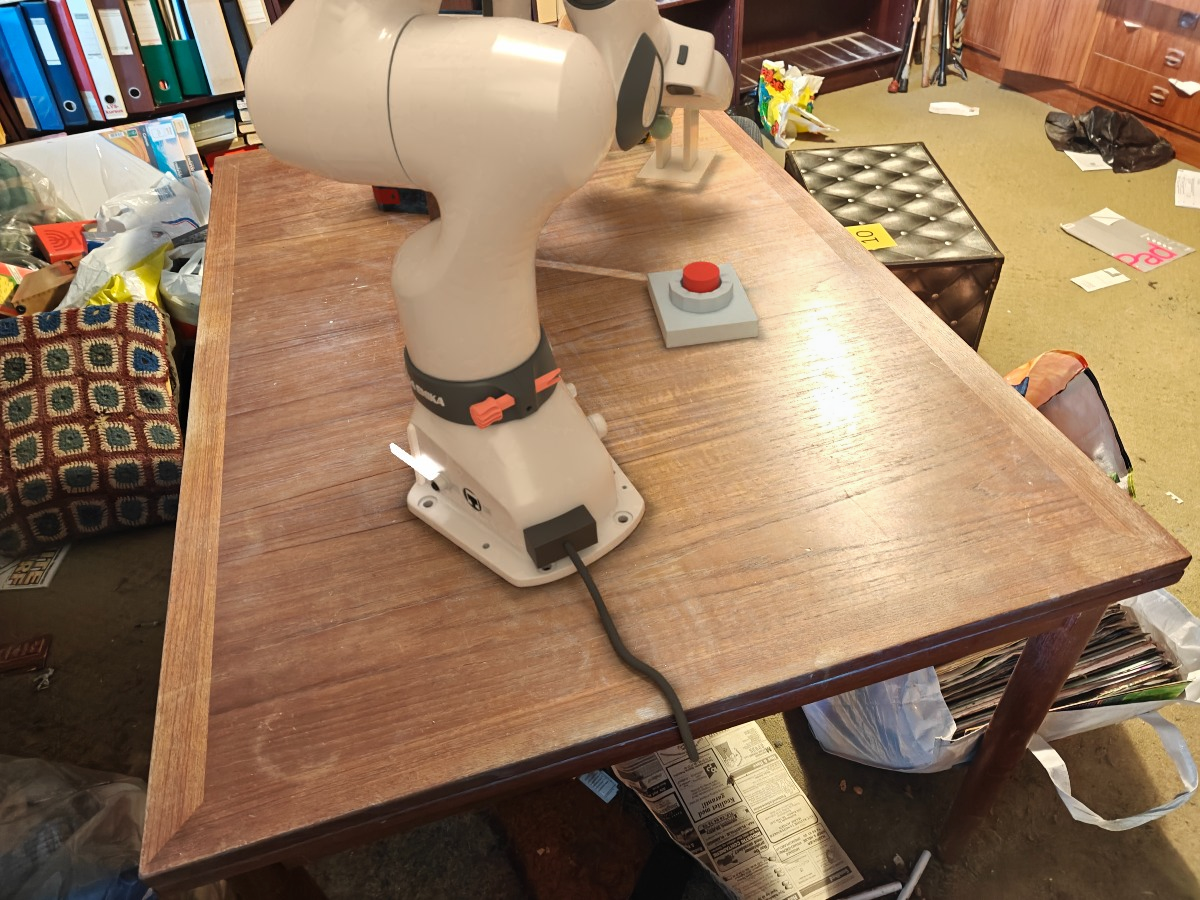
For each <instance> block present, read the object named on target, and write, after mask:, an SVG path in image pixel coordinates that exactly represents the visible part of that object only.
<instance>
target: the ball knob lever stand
mask: <svg viewBox="0 0 1200 900" xmlns="http://www.w3.org/2000/svg"><path fill="white" fill-rule="evenodd" d="M699 123H700V110H698V109H685V108H683V138H682V139H683V144H682V145H683V146H675V145H674V146H673V145H672V134H671V135H670V136H669V137H668V138H667V139H666V140H662V141H658V140H655V149H654V151H652V154H651V155H650V156H649V157H648V159H647V161H646V162H645V163H644V165H643V166H642V167H641V169H640V170H639V172H638V173H637V175H636V176H635V179H644V180H655V181H664V182H673V183H681V184H693V185H698V184H699V183H700V181H701V179H702V178H703V176H704V174H705V172H706V171H707V169H708V168H709V166H710V164H711V163H712V161H713V159H714V158H715V156H716V154H717V152H718V150H717V149H708V148H699V127H700V124H699Z"/></svg>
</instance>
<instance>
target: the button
mask: <svg viewBox="0 0 1200 900" xmlns="http://www.w3.org/2000/svg"><path fill="white" fill-rule="evenodd" d="M716 265H717V264H715V263H712V262H709V261H702V260H701V261H693V262H690V263H688V264H686V265H684V267H683V268H684V269H683V268H682V269H683V287H684V289H686V290H688V291H689V292H694V293H707V292H712V291H714V290H716V289H717V288H718V287H719V277H720V270H719V268H718V267H717V266H716Z"/></svg>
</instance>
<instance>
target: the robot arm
mask: <svg viewBox="0 0 1200 900" xmlns="http://www.w3.org/2000/svg"><path fill="white" fill-rule="evenodd" d="M442 2H443V0H294V1H293V2H292V3H291V4H290V5H289V7H288V8H287V9H286V11H284V12H283V14H282V15H281V16H280V17H279V18H278V19H277V20H276V21H274V22H273V23H272V24H271V25H270V26H269V27H267V28H266V29H265V30H264V31H263V32H262V33H261V34H260V35H259V37H258V38H257V40H256V41H255V43H254V45H253V47H252V50H251V52H250V54H249V57H248V61H247V65H246V69H245V75H244V97H245V98H244V99H245V104H246V109H247V113H248V116H249V119H250V121H251V125H252V127H253V129H254V131H255V133H256V136H257V137H258V139H259V140H260V142H261V143H262V146H263V147H264V148H265V150H266V151H267V152H268V153H269V154H270V155H271V156H272V157H273V158H274V159H275V160H276V161H278V162H279V163H280V164H282V165H285V166H286V167H290V168H293V169H296V170H299V171H302V172H304V173H307V174H311V175H314V176H316V177H321V178H323V179H328V180H330V181H331V180H332V181H334V182H338V183H341V184H347V185H348V184H349V185H359V186H360V185H363V186H372V185H373V186H386V187H398V188H411V189H422V190H424V191H429V192H432V193H433V195H434V196H435V198H436V199H437V202H438V205H439V208H440V214H441V217H439V218H437V219H435V220H433V221H431V222H430V221H429V222H427V223H425V224H423V225H421V227H419V228H417V229H416V230H414V231H413V232H412V233H411V234H410V235H408V236H407V237H406V238H405V239H404V240H403V241H402V243H400V245H399V247H398V248H397V250H396V252H395V254H394V256H393V259H392V263H391V267H390V272H389V273H390V274H389V285H390V289H391V293H392V297H393V301H394V305H395V308H396V312H397V317H398V320H399V323H400V328H401V332H402V335H403V339H404V343H405V344H404V348H403V358H404V368H405V374H406V377H407V380H408V382H409V384H410V388H411V391H412V393H413V396H414V397H415V399H414V404H413V408H412V411H411V415H410V417H409V420H408V423H407V427H406V436H407V440H408V445H409V450H410V454H409V453H407V452H406V451H404V450H403V449H401V448H400V447H399V446H398V445H396V444H394V443H393V442H392V443H391V444H389V446H390V450H391V453H393V454H394V455H395V456H397V457H398V458H399V459H400V460H401V461H402V460H403V461H404V462H405V463H406V464H407V465H409V466H411V468H413V471H414V476H415V482H414V483H413V485H412V486H411V488H410V489H409V491H408V493H407V496H406V504H407V509H408V511H409V512H410V513H411V514H413V515H414V516H416V517H417V518H418V519H419V520H421V521H423V522H424V523H425V524H426V525H428V526H429V527H431V528H432V529H434V530H435V531H436V532H437V533H439V534H440V535H442V536H443V537H445V538H446V539H448V540H449V541H450V542H452V543H453V544H455V545H456V546H457V547H459V548H460V549H461V550H463V551H465V552H466V553H467V554H468V555H470V556H471V557H473V558H474V559H475V560H477V561H478V562H479V563H481V564H483V565H484V566H486V567H487V568H488V569H489V570H491V571H492V572H494V573H495V574H497V575H498V576H500V577H501V578H502V579H504V580H505V581H506V582H508V583H509V584H511V585H513V586H515V587H518V588H526V587H527V588H528V587H536V586H541V585H545V584H549V583H551V582H555V581H558V580H561V579H563V578H565V577H567V576H571V575H572V574H574V573H576V572H578V574H579V575H580V579H582V582H583V583H584V585H585V587H586V589H587V591H588V593H589V595H590V596H591V599H592V602H593V603H594V606H595V608H596V611H597V612H598V613H597V614H598V615H599V617H600V620H601V622H602V624H603V626H604V628H605V630H606V633H607V635H608V637H609V639H610V642H611V644H612V645H613V648H614V649H615V651H616V653H617V654H618V656H619V657H620V658H621V659H622V660H623V661H624V662H625V664H627V665H629V667H632V668H633V669H634V670H635V671H638V672H640V673H642V674H644V675H645V676H647V677H648V678H650V679H651V680H652V681H653V682H655V684H656V685H657V686H658V688H659V689H660V690H661V692H662V693H663V695H664V696H665V698H666V699H667V701H668V703H669V705H670V708H671V710H672V713H673V715H674V718H675V722H676V724H677V727H678V730H679V734H680V737H681V740H682V743H683V745H684V748H685V751H686V754H687V756H688V759H689V761H691V762H692V763H698V762H699V761H700V755H699V752H698V748H697V746H696V743H695V740H694V737H693V735H692V731H691V728H690V726H689V722H688V720H687V717H686V714H685V711H684V708H683V705H682V703H681V701H680V698H679V697H678V695H677V694H676V692H675V690H674V689H673V687H672V685H671V684H670V683H669V681H668V680H667V679H666V677H664V675H663V674H662V673H661V672H659V671H658V670H657V669H655V668H654V667H653V666H651V665H649V664H647V663H645V662H644V661H642V660H640V659H639V658H637V657H635V656H634V655H633V654H632V653H631V652H630V651H629V650H628V648H627V647H626V646H625V645H624V643H623V641H622V638H621V636H620V634H619V632H618V630H617V627H616V625H615V623H614V621H613V619H612V617H611V615H610V613H609V611H608V607H607V606H606V603H605V601H604V599H603V597H602V595H601V593H600V590H599V589H598V588H599V587H598V586H597V585H596V583H595V580H594V579H593V577H592V575H591V574H590V571H589V570H588V568H587V567H588V566H589V565H591V564H592V563H594V562H596V561H597V560H599V559H601V558H602V557H603V556H605V555H606V554H608V553H610V552H611V551H613V549H615V548H617V546H619V545H620V544H621V543H623V542H624V541H625V540H626V539H627V538H628V537H629V536H630V535H631V534H632V533H633V531H634V530H635V529H636V528H637V527H638V525H639V523H640V522H641V521H642V518H643V516H644V514H645V512H646V505H645V500H644V498H643V496H642V495H641V494H640V492H639V491H638V490H637V488H636V487H635V486H634V484H633V483H632V482H631V481H630V479H629V478H628V477H627V475H626V474H625V472H624V471H623V470H622V468H621V467H620V466H619V465H618V463H617V462H616V460H614V458H613V457H612V455H611V454H610V453H609V452H608V450H607V448H606V446H605V444H604V443H603V441H602V439H603V438H605V437H607V436H608V434H609V430H608V429H609V428H608V424H607V422H606V421H605V418H604V416H603V415H602V414H601V413H600V412H594V413H591V414H589V415H586V414H585V413H584V411H583V409H582V408H581V406H580V404H579V403H578V401H577V400H576V398H575V397H577V396H578V391H577V388H576V386H575V384H574V383H573V382H568V383H566V382H565V381H564V380H563V378H562V377H561V375H560V373H561V372H562V370H561V368H559V367H558V365H557V362H556V359H555V356H554V350H553V347H552V344H551V341H550V340H549V338H548V336H547V333H546V330H545V328H544V326H543V324H542V322H541V321H540V316H539V307H538V297H537V281H536V256H537V255H536V253H537V248H538V244H539V240H540V236H541V234H542V231H543V229H544V227H545V225H546V223H547V222H548V220H549V219H550V217H551V216H552V214H553V213H554V212H555V210H556V209H557V208H558V207H559V206H561V204H562V203H563V202H564V201H565V200H566V199H568V198H569V197H570V196H571V195H572V194H574V193H576V192H577V191H578V190H580V189H582V188H583V187H584V186H585V185H586V184H588V182H589V181H590V180H591V179H592V178H593V177H594V176H595V175H596V174H597V173H598V171H599V170H600V168H601V166H602V165H603V164H604V162H605V160H606V158H607V156H608V154H609V152H610V151H609V150H612V152H613V151H614V152H628V151H630V150H631V149H633V148H634V147H636V146H638V145H637V144H638V143H639V142H640V141H641V140H642V139H643V138H644V137H645V135H646V134H647V133H648V132H649V131H650V129H651V128H652V127H653V125H654V124H655V122H656V120H657V117H658V115H668V116H671V113H672V108H676V109H684V108H685V109H698V110H699V111H713V112H724V111H726V110H728V109H729V108H730V105H731V101H732V97H733V93H734V84H735V82H734V81H735V80H734V76H733V74H732V71H731V68H730V66H729V64H728V61H727V59H726V58H725V57H724V55H723V54H721V52H720V51H718V50H716V49H715V44H716V40H715V36H714V35H713V34H712V33H711V32H709V31H705V30H700V29H696V28H692V27H689V26H685V25H683V24H679V23H677V22H674V21H672V20H669V19H668V18H666V17H662V15H660V13H659V8H658V4H657V1H656V0H562V4H563V7H564V10H565V12H566V16H567V18H568V20H569V23H570V25H571V27H572V29H573V30H567V29H565V28H561V27H558V26H554V25H550V24H546V23H543V22H542V23H541V22H538V21H537V22H536V21H533V20H532V0H481V10H482V14H483V17H478V16H438V13H439V10H441V6H442V5H441V4H442ZM545 569H547V570H545Z"/></svg>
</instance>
